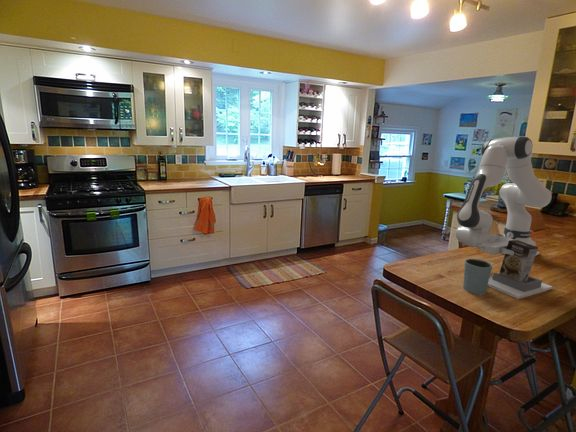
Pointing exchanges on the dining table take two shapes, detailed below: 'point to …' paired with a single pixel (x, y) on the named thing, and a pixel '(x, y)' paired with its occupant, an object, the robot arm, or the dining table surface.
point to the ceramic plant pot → (476, 276)
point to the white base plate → (517, 286)
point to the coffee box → (518, 261)
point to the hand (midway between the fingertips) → (519, 252)
